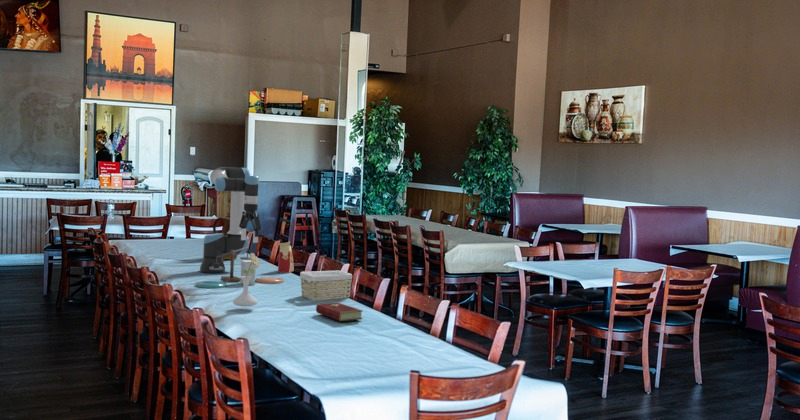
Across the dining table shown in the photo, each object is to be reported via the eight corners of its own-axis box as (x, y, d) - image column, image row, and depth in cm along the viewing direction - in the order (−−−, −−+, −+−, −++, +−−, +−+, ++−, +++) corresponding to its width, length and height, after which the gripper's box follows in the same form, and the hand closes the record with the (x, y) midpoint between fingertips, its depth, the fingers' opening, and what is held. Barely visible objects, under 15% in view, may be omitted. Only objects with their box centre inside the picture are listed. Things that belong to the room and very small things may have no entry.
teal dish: (190, 284, 390) (190, 282, 390) (217, 282, 401) (218, 280, 401) (204, 289, 378) (204, 286, 378) (231, 287, 389) (231, 284, 389)
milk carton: (293, 272, 456) (295, 240, 454) (290, 274, 446) (291, 242, 445) (279, 271, 456) (280, 240, 455) (275, 273, 447) (277, 241, 446)
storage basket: (311, 304, 363) (312, 275, 363) (297, 299, 377) (298, 271, 376) (352, 302, 377) (353, 274, 376) (337, 296, 390) (339, 269, 389)
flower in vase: (245, 309, 332) (247, 255, 330) (227, 305, 338) (229, 252, 336) (264, 305, 343) (267, 253, 341) (247, 302, 349) (249, 250, 347)
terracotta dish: (250, 280, 415) (250, 278, 415) (274, 278, 426) (274, 276, 426) (264, 284, 403) (264, 282, 403) (289, 282, 414) (289, 280, 414)
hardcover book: (339, 321, 318) (340, 311, 317) (315, 312, 334) (316, 303, 334) (362, 319, 325) (362, 309, 324) (337, 310, 341) (338, 301, 341)
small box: (255, 285, 400) (255, 261, 399) (243, 285, 397) (244, 261, 396) (251, 282, 407) (252, 259, 406) (240, 282, 404) (241, 259, 404)
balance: (204, 280, 407) (205, 246, 406) (247, 277, 425) (248, 245, 424) (214, 283, 398) (215, 249, 397) (257, 280, 416) (259, 247, 415)
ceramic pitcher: (233, 262, 487) (235, 218, 485) (204, 261, 487) (205, 217, 485) (240, 259, 506) (242, 216, 505) (212, 257, 506) (213, 215, 505)
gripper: (233, 201, 407) (232, 239, 408) (256, 204, 388) (254, 243, 389) (245, 202, 411) (244, 239, 412) (268, 204, 393) (266, 243, 394)
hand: (249, 241), depth 401 cm, fingers open, 13 cm apart
